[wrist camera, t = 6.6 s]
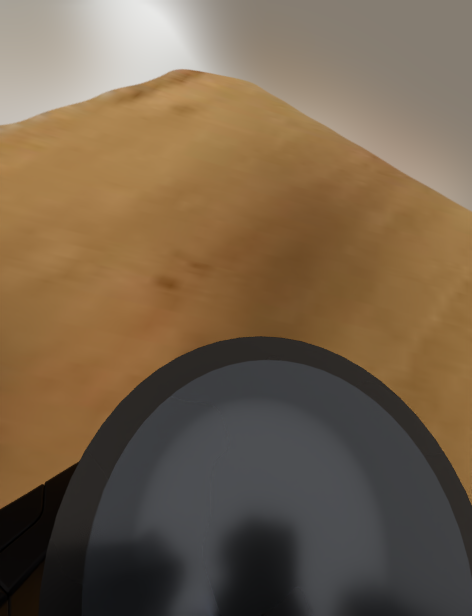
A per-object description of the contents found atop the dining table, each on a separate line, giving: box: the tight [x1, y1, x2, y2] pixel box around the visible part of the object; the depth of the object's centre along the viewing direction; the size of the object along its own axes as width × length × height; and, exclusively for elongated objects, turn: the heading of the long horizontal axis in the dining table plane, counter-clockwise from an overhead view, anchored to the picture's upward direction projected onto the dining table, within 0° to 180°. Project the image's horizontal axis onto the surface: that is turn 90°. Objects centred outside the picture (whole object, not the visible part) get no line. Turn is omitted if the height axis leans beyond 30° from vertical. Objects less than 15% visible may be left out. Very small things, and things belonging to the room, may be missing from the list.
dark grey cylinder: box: [38, 336, 472, 616], centre depth 8 cm, size 5×5×12 cm
